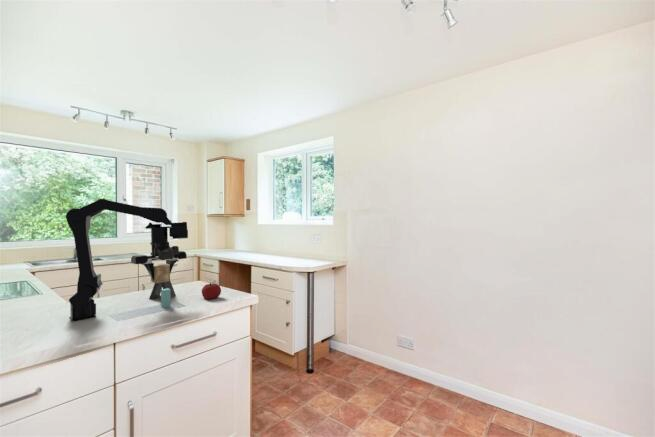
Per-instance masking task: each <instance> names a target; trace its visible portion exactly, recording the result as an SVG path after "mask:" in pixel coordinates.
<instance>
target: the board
mask: <svg viewBox="0 0 655 437" xmlns="http://www.w3.org/2000/svg"><path fill="white" fill-rule="evenodd" d="M182 307H187V305H186V304H183V303H181V302H179V301H170V307H166V308H163V307H161V303H159V304H156V305H151V306H146V307H145V306H144V307H140V308H136V309H132V310H131V309H130V310H126V311H122V312H116V313H112V314H109V317H111V318H113V320H114V321H117V322H119V321H120V322H121V321H123V320H124V321H125V320H129V319H133V318H134V319H135V318H137V317H143V316H147V315H151V314H156V313H160V312H164V311H169V310H174V309H177V308H178V309H179V308H182Z"/></svg>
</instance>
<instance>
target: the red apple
mask: <svg viewBox="0 0 655 437" xmlns="http://www.w3.org/2000/svg"><path fill="white" fill-rule="evenodd" d="M221 294H222V289H221V286H220V285H219V284H218V283H212V282H209V283H207V284H205V285H203V287H202V289H201V295H202V297H203V298H204V299H206V300H210V301H211V300H213V299H218V298H219V297H220V295H221Z"/></svg>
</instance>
